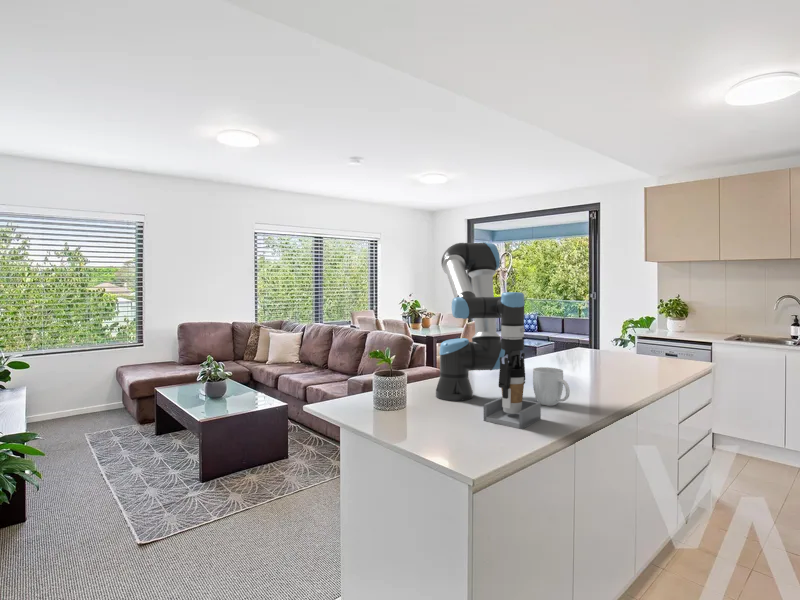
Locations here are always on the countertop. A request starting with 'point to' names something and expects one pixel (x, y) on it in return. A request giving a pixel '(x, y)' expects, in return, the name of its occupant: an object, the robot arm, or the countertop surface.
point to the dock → (520, 420)
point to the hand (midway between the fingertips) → (512, 404)
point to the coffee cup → (516, 390)
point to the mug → (549, 385)
